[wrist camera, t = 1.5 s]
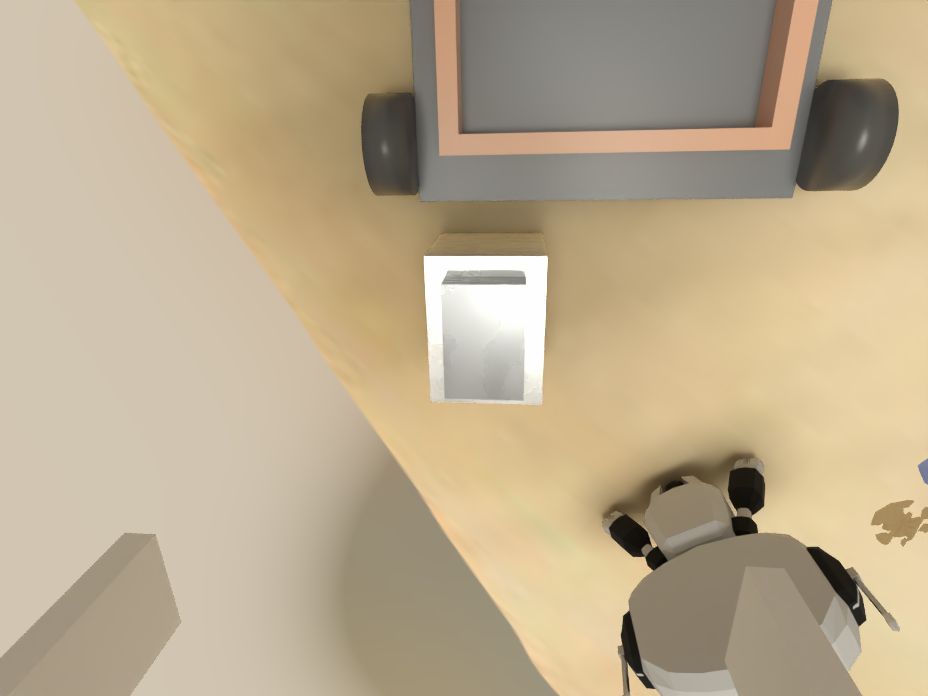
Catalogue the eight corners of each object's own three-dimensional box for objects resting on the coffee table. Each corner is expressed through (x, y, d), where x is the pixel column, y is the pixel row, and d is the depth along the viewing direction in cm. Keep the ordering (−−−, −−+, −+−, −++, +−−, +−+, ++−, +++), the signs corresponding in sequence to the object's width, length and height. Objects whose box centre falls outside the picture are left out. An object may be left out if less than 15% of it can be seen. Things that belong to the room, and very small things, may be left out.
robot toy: (612, 547, 39) (662, 771, 26) (583, 502, 38) (619, 713, 24) (778, 481, 36) (939, 699, 22) (752, 430, 35) (905, 626, 21)
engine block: (441, 233, 32) (418, 263, 25) (542, 232, 31) (549, 263, 24) (446, 355, 35) (426, 415, 28) (538, 357, 34) (542, 418, 27)
